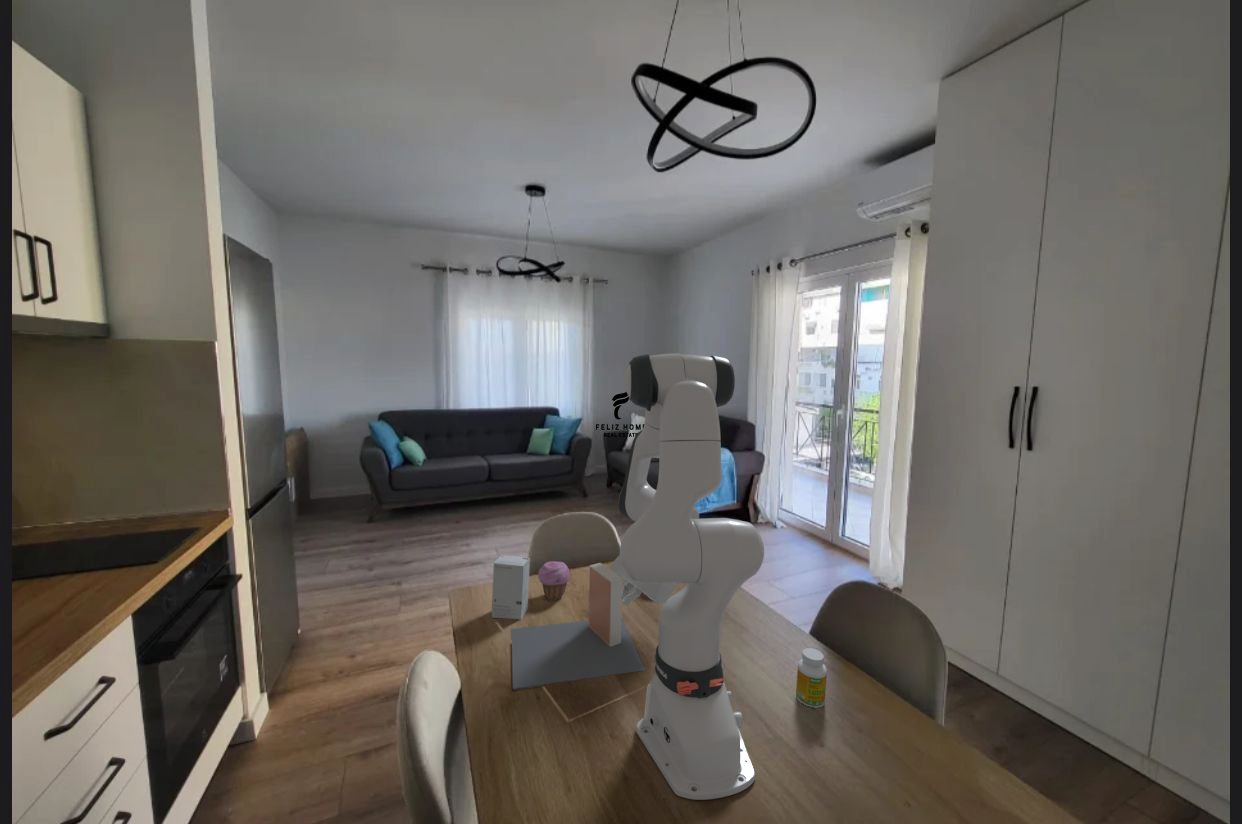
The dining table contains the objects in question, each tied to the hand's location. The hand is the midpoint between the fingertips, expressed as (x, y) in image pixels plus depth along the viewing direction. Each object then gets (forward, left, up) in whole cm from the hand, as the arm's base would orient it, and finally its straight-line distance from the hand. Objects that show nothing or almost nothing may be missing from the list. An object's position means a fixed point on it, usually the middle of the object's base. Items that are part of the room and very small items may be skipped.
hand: (622, 602), depth 118 cm
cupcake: (+20, +15, -8) cm, 26 cm away
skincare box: (+13, +27, -8) cm, 31 cm away
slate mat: (-6, +13, -7) cm, 16 cm away
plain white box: (-2, +5, -7) cm, 9 cm away
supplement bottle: (-32, -31, -8) cm, 45 cm away
